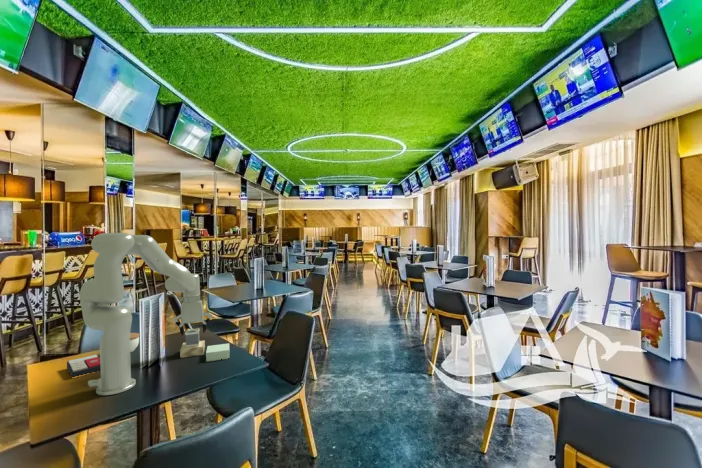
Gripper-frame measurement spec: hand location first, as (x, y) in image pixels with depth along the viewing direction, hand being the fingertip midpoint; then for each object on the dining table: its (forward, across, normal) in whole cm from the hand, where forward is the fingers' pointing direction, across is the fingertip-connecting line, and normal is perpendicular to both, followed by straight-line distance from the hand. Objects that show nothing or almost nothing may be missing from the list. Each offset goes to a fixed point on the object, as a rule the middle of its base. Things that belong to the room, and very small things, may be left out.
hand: (193, 333), depth 166 cm
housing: (+6, 0, -1) cm, 6 cm away
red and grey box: (+10, -43, -5) cm, 45 cm away
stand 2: (+10, +12, -11) cm, 18 cm away
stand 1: (+10, 0, -1) cm, 10 cm away
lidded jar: (+10, -32, +15) cm, 37 cm away
